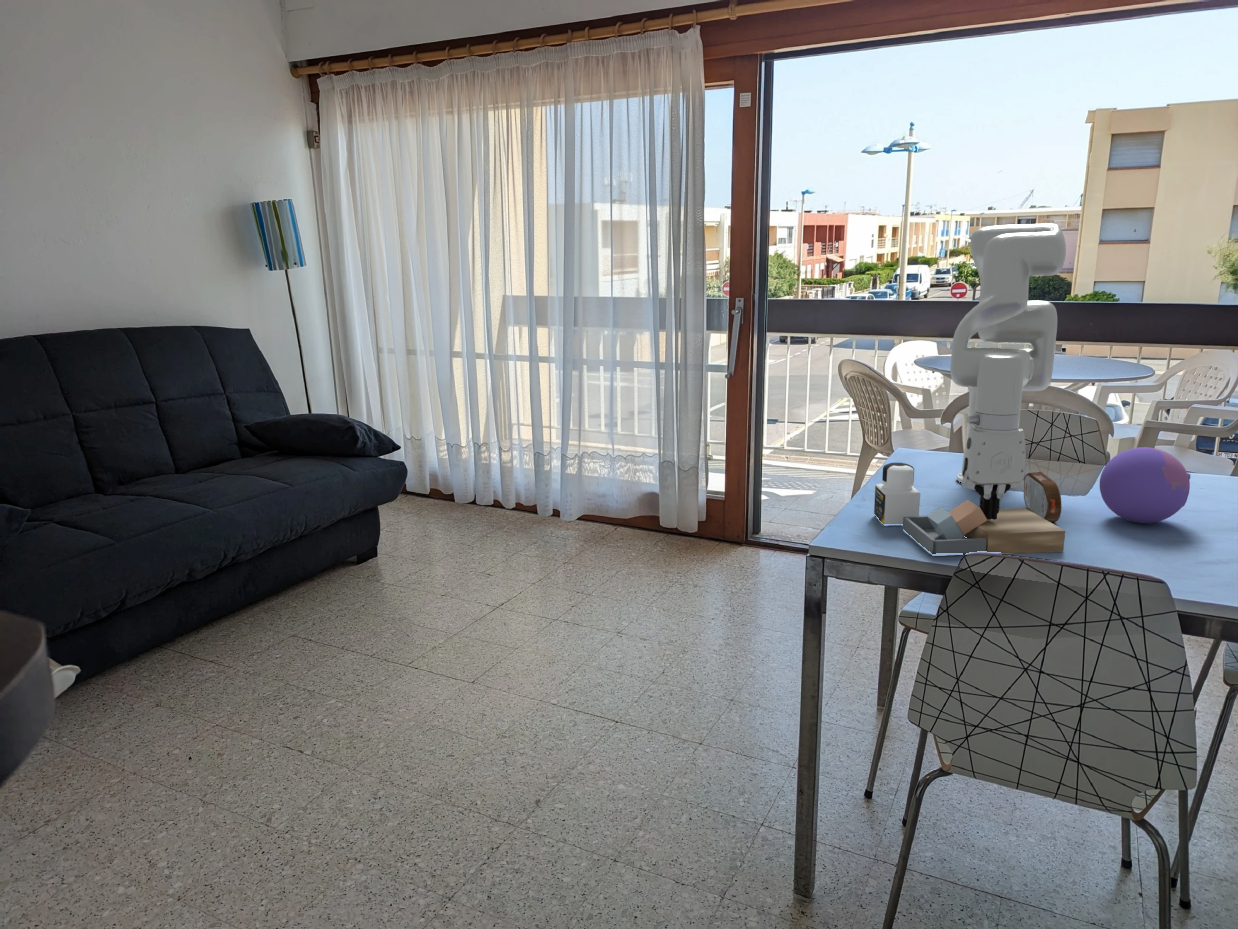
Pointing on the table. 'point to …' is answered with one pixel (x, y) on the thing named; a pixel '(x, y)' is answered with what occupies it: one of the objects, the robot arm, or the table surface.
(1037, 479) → the tin
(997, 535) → the board
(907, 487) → the medicine bottle
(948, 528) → the tile slate
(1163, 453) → the decorative ball
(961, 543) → the tray
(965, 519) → the tile terracotta
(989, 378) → the robot arm
